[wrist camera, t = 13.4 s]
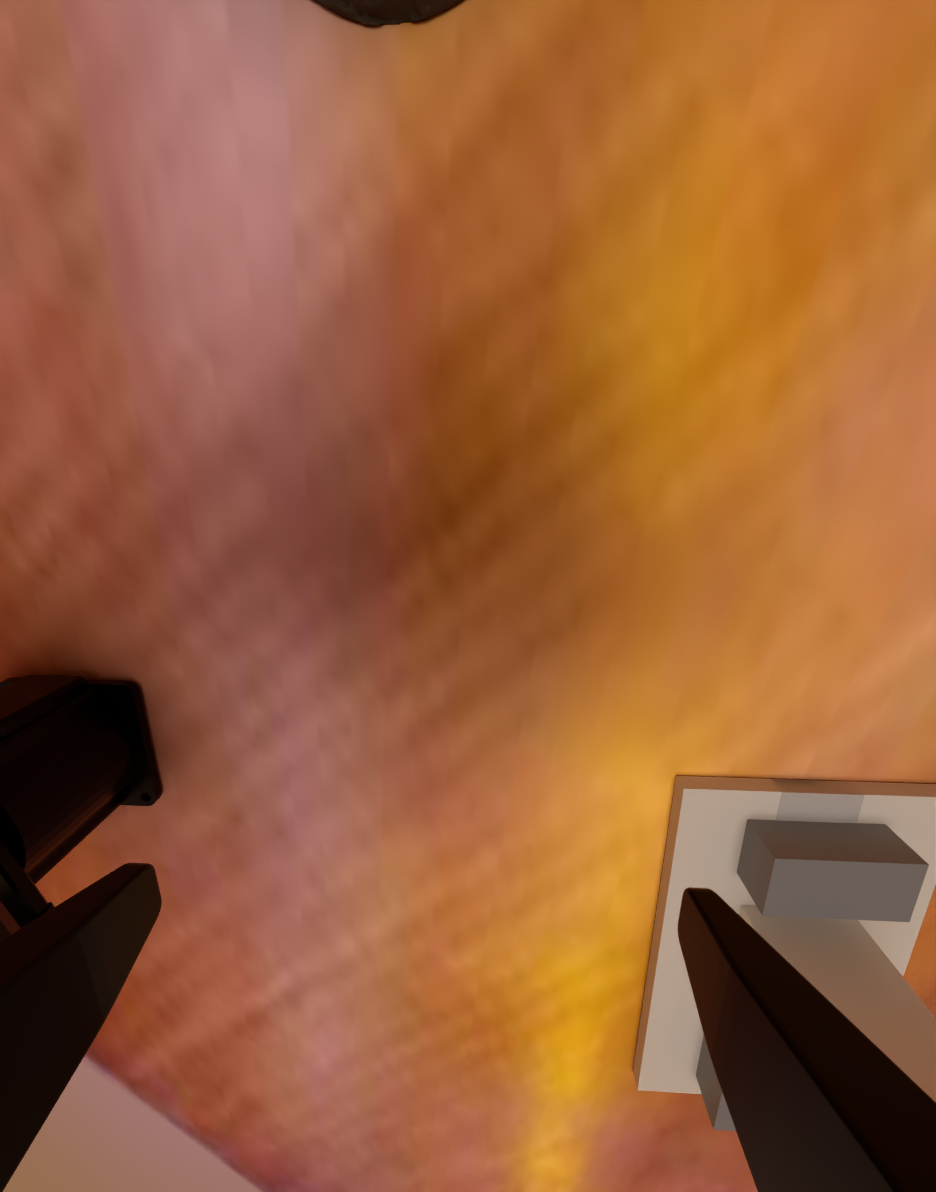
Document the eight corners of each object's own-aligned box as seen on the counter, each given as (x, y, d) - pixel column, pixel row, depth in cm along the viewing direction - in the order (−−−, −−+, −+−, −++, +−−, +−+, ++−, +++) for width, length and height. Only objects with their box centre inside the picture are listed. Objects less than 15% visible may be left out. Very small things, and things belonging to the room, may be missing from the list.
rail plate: (846, 1083, 27) (890, 1160, 24) (632, 1070, 28) (650, 1144, 25) (946, 784, 21) (1020, 836, 18) (676, 775, 22) (705, 825, 19)
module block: (827, 987, 24) (1093, 1404, 13) (724, 982, 24) (905, 1388, 14) (850, 908, 23) (1167, 1305, 12) (740, 903, 23) (956, 1290, 12)
